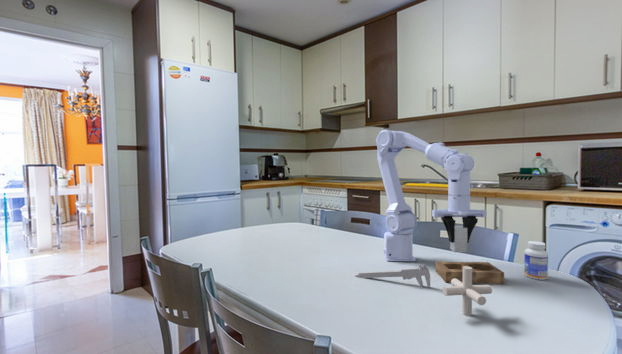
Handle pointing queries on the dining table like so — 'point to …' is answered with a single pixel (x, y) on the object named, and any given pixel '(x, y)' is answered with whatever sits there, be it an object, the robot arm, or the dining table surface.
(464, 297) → the wooden cross jack
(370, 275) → the caliper
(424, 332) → the dining table surface
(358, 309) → the dining table surface
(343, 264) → the dining table surface
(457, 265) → the socket block
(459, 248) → the square bit
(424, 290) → the dining table surface
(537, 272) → the pill bottle
